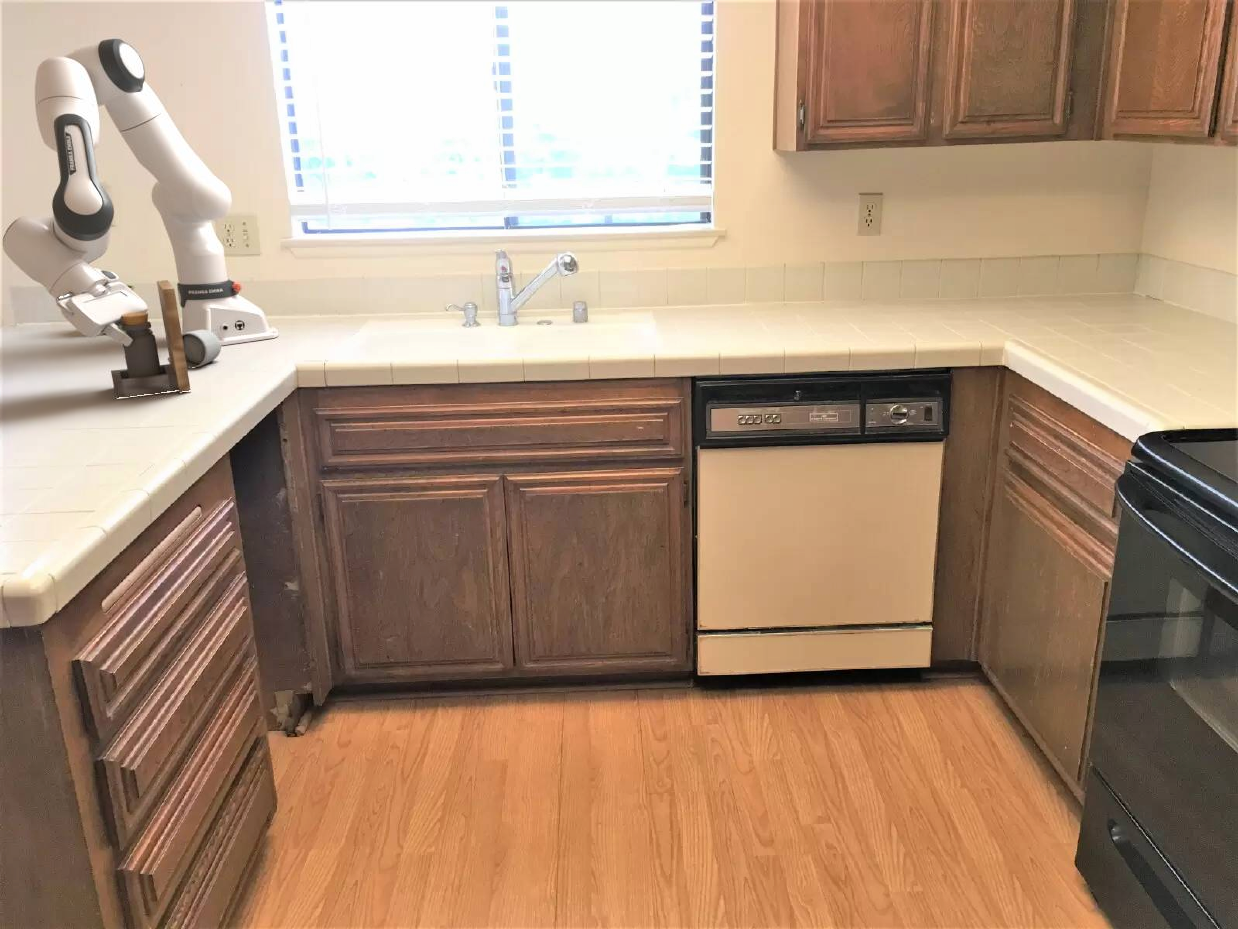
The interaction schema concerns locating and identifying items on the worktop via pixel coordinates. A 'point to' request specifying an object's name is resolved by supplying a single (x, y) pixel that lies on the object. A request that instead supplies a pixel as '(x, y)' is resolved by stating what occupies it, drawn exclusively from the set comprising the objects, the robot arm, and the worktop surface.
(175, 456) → the worktop surface
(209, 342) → the ceramic mug
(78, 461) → the worktop surface
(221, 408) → the worktop surface
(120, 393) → the wooden stand
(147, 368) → the bottle
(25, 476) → the worktop surface
